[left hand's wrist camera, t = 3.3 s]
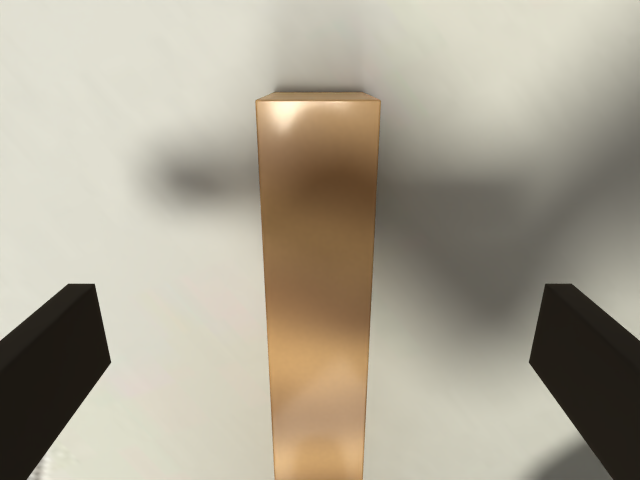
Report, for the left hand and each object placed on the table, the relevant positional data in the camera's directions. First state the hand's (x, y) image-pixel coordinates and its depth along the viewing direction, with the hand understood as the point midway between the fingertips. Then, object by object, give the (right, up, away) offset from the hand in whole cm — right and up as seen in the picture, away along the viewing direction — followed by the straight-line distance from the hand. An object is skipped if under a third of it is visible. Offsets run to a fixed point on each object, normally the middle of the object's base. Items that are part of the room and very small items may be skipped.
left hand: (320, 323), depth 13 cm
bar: (0, -16, +22) cm, 27 cm away
